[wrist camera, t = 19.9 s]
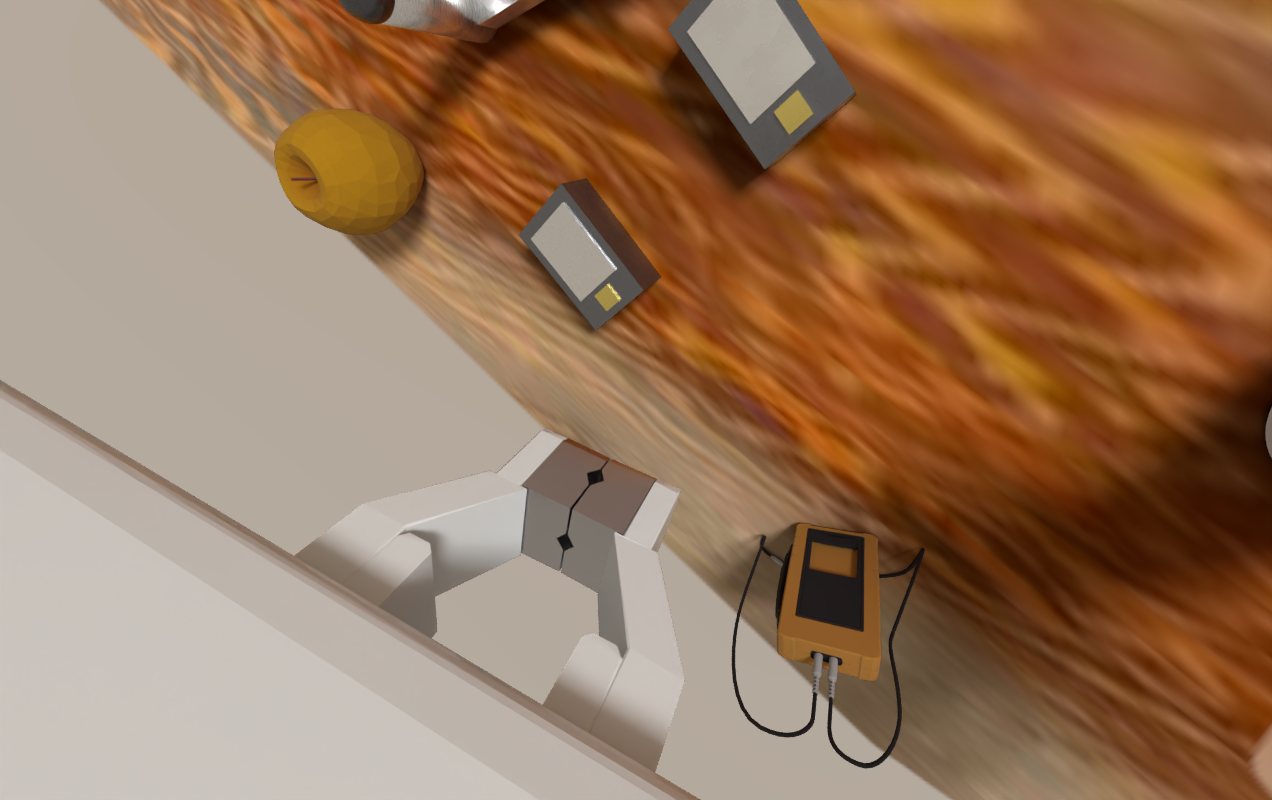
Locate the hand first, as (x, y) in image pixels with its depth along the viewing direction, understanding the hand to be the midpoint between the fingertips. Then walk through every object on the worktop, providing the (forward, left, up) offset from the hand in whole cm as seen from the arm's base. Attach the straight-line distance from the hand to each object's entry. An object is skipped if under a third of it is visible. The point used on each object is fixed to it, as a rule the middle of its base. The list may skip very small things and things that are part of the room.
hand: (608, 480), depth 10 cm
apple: (+25, -26, -31) cm, 48 cm away
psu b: (-4, -9, -31) cm, 33 cm away
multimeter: (+15, +30, -31) cm, 46 cm away
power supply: (+14, -8, -31) cm, 35 cm away
